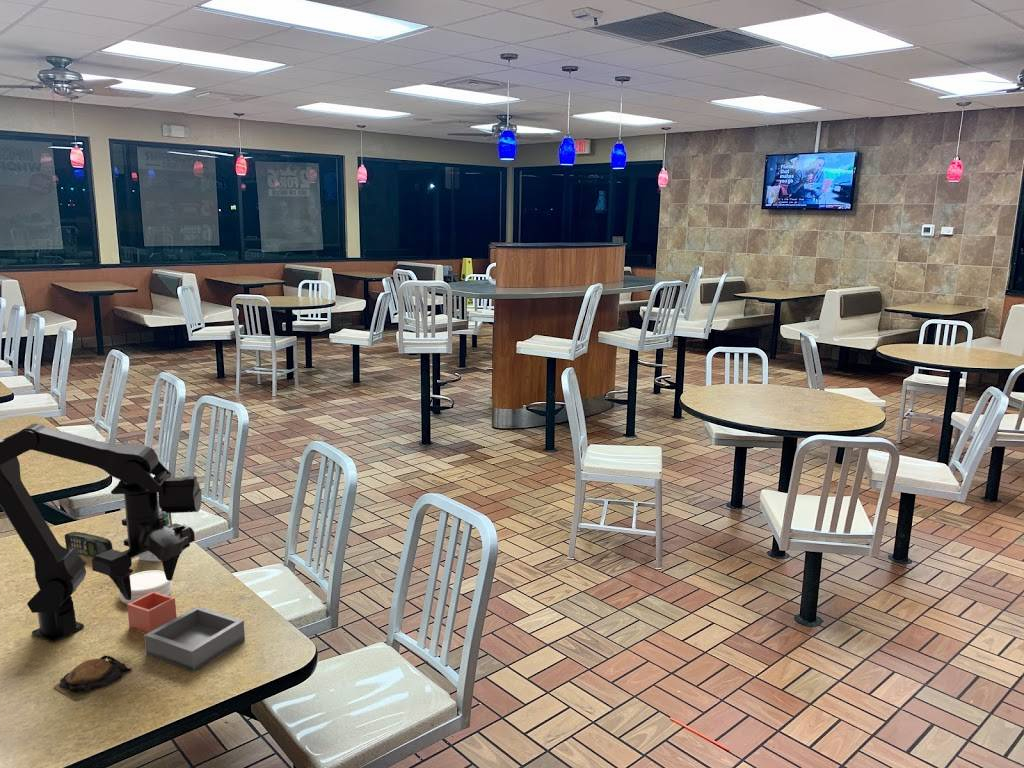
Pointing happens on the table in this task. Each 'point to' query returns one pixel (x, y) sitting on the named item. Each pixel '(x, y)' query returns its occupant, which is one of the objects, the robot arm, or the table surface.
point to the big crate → (194, 638)
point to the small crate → (151, 612)
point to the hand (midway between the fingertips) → (149, 589)
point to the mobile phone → (87, 543)
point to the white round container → (147, 585)
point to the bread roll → (92, 677)
